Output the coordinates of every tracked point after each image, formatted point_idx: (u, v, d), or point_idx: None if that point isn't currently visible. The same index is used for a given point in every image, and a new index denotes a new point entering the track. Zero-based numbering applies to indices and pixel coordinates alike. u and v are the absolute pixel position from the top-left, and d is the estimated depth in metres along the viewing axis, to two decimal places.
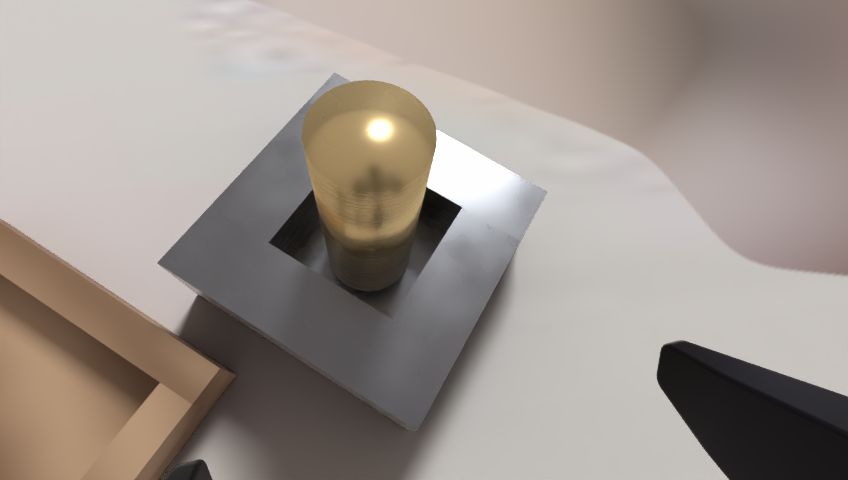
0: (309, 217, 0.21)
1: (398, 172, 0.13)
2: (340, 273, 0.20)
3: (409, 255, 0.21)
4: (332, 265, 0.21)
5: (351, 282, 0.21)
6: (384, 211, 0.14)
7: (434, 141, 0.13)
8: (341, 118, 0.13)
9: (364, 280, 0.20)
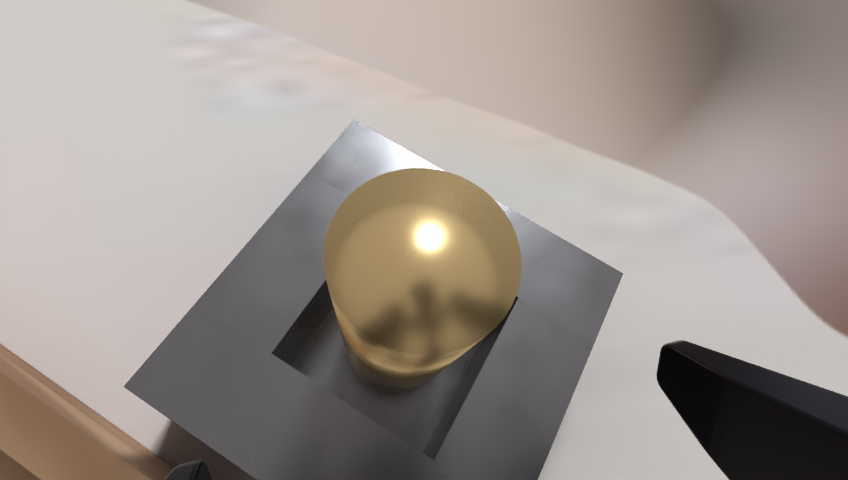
0: (322, 305, 0.17)
1: (469, 318, 0.08)
2: (362, 378, 0.16)
3: None
4: (351, 365, 0.16)
5: (375, 388, 0.16)
6: (441, 361, 0.09)
7: (518, 263, 0.09)
8: (381, 229, 0.09)
9: (393, 390, 0.16)
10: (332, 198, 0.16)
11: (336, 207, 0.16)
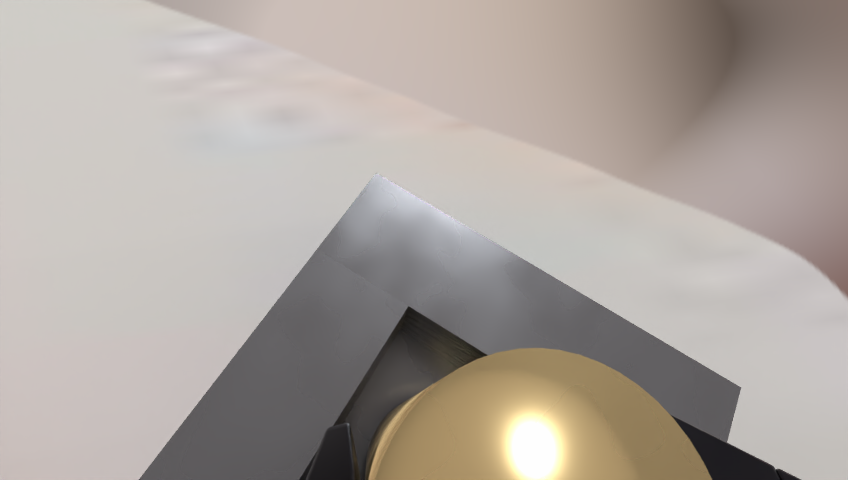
0: None
1: None
2: None
3: None
4: None
5: None
6: None
7: None
8: None
9: None
10: (349, 287, 0.12)
11: (355, 300, 0.12)
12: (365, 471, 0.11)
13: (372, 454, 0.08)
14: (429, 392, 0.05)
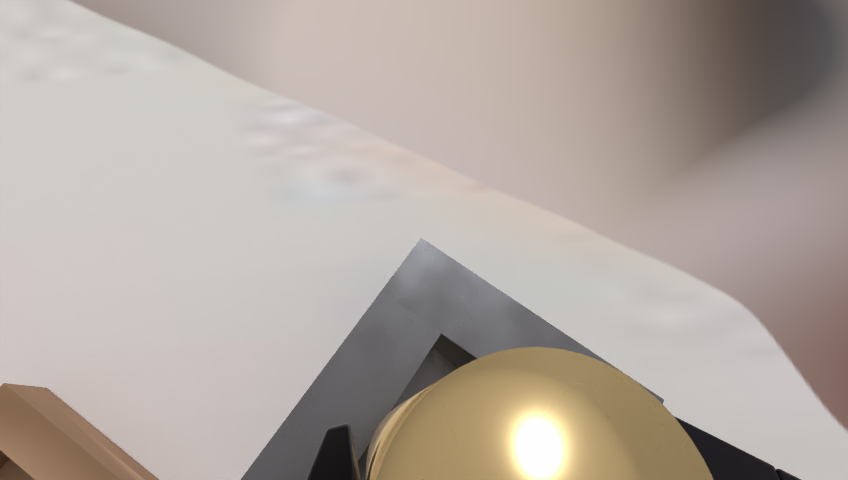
0: None
1: None
2: None
3: None
4: None
5: None
6: None
7: None
8: None
9: None
10: (402, 318, 0.18)
11: (406, 328, 0.18)
12: None
13: (373, 453, 0.08)
14: (431, 391, 0.05)
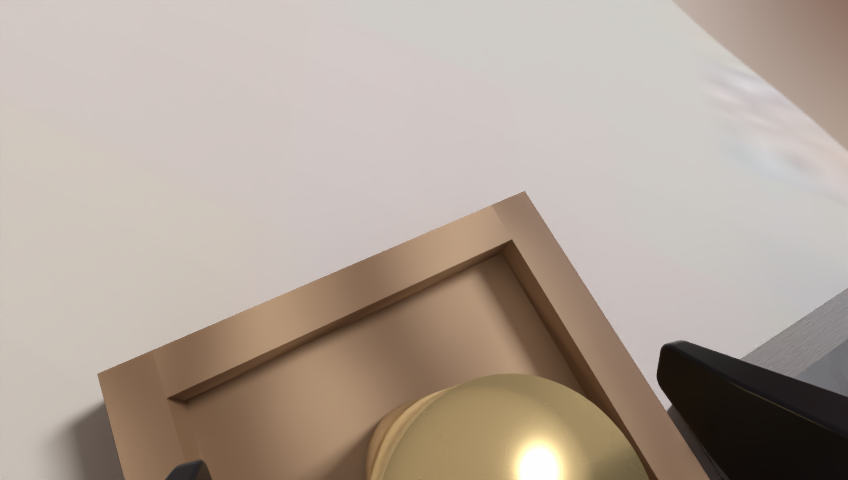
0: None
1: None
2: None
3: None
4: None
5: None
6: None
7: None
8: None
9: None
10: None
11: None
12: (366, 468, 0.12)
13: (375, 455, 0.09)
14: (425, 410, 0.06)
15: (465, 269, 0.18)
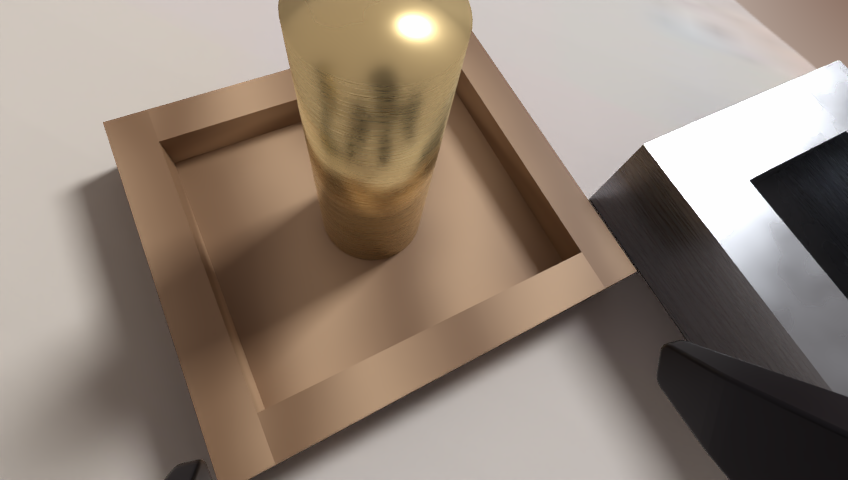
0: (752, 182, 0.19)
1: (418, 60, 0.09)
2: (336, 235, 0.16)
3: (421, 215, 0.17)
4: (326, 226, 0.17)
5: (349, 247, 0.17)
6: (396, 125, 0.10)
7: (469, 23, 0.09)
8: None
9: (365, 243, 0.16)
10: (812, 104, 0.19)
11: (814, 112, 0.19)
12: None
13: None
14: None
15: None
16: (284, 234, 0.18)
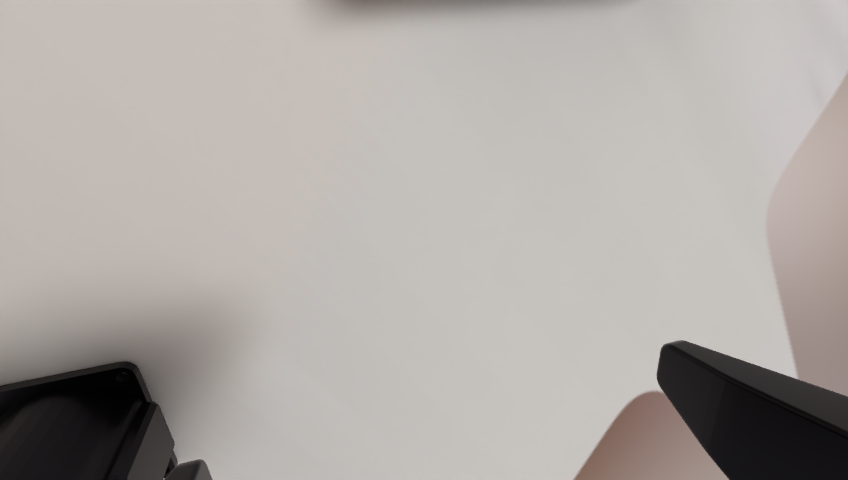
0: None
1: None
2: None
3: None
4: None
5: None
6: None
7: None
8: None
9: None
10: None
11: None
12: None
13: None
14: None
15: None
16: None
